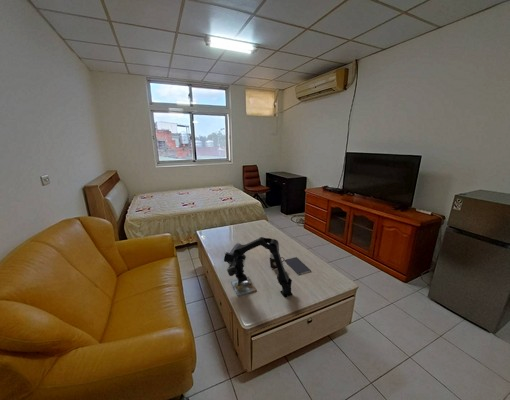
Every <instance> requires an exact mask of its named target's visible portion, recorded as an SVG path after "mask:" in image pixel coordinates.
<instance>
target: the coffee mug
mask: <svg viewBox="0 0 510 400" xmlns="http://www.w3.org/2000/svg"><path fill="white" fill-rule="evenodd" d="M268 257H269V263H270V264H269V266H270V268H271V269H273V270H277V266H276V263H275V260H274V257H273V255H272V254H271V253H270V254H269V256H268ZM280 257H281V256H280ZM281 259H282V263H283V262H285V261H284V260H285V257H281Z"/></svg>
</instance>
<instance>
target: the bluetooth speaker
mask: <svg viewBox="0 0 510 400" xmlns="http://www.w3.org/2000/svg"><path fill="white" fill-rule="evenodd" d="M239 245H242V244H241V243H238V242H237V243H236V244H234V246H233V247H232V248H231V250H230V252H229V253H234V250H235V249H236V247H237V246H239ZM227 263H228V265H231V266H232V265H233V264H235V261H234V262H233V263H229V262H227Z"/></svg>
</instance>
